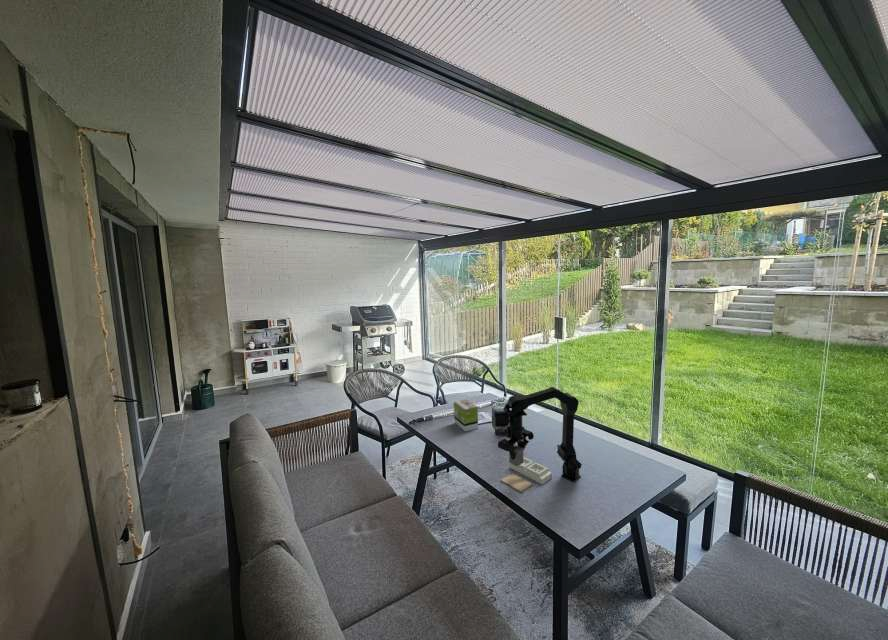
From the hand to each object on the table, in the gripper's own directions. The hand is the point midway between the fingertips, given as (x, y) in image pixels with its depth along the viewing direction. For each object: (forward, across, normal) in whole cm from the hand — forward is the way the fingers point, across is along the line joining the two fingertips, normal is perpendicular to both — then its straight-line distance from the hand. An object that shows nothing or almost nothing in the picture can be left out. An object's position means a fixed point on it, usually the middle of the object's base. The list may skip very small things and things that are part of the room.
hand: (516, 457), depth 155 cm
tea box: (+13, -25, -61) cm, 67 cm away
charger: (+2, 0, 0) cm, 3 cm away
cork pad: (+12, 0, 0) cm, 12 cm away
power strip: (+12, -11, -1) cm, 17 cm away
